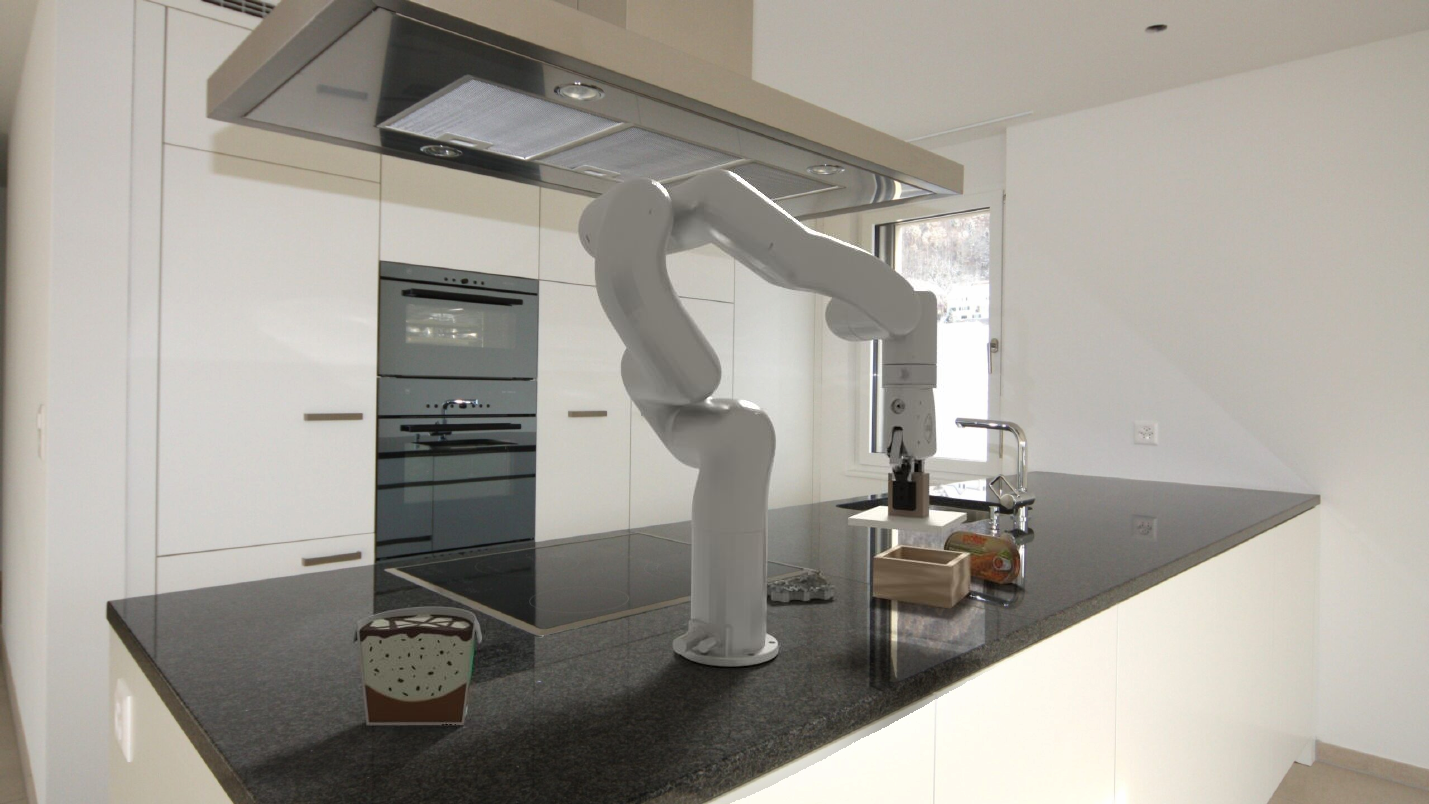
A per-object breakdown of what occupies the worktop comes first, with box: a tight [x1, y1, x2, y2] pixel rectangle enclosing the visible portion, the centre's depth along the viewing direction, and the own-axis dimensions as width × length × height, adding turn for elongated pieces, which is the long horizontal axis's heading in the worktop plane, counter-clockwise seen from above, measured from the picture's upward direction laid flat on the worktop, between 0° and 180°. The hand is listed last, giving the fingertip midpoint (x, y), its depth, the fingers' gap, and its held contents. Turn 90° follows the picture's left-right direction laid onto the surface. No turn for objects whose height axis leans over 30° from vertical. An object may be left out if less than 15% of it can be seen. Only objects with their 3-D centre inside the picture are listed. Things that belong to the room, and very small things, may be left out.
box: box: [872, 544, 971, 609], centre depth 127 cm, size 12×12×7 cm
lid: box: [847, 471, 968, 535], centre depth 113 cm, size 13×13×7 cm
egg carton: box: [767, 570, 838, 603], centre depth 126 cm, size 11×8×4 cm
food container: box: [350, 606, 483, 726], centre depth 81 cm, size 12×6×10 cm, turn 92°
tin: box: [943, 530, 1021, 585], centre depth 140 cm, size 15×3×8 cm, turn 31°
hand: (908, 506), depth 113 cm, fingers closed on lid, 3 cm apart
